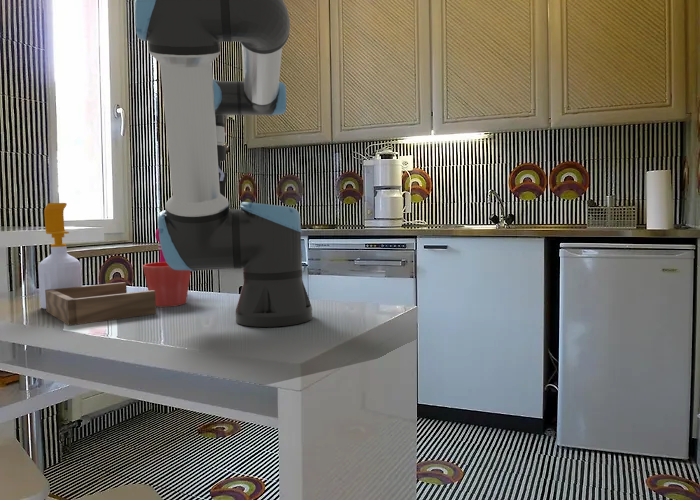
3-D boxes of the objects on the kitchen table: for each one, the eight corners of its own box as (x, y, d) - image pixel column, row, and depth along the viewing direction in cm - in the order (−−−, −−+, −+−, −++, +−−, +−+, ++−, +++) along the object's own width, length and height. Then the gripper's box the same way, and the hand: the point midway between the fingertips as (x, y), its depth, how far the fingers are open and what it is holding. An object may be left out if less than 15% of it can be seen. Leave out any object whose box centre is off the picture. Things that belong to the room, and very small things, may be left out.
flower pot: (193, 306, 137) (191, 264, 136) (143, 309, 134) (141, 266, 133) (192, 299, 147) (190, 260, 146) (146, 302, 144) (144, 262, 143)
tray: (156, 313, 128) (155, 290, 127) (69, 325, 117) (67, 300, 117) (125, 302, 144) (124, 282, 144) (46, 311, 134) (45, 289, 133)
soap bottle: (45, 311, 134) (39, 203, 132) (37, 306, 141) (30, 203, 139) (87, 306, 140) (81, 202, 138) (77, 301, 147) (71, 203, 145)
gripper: (235, 143, 142) (239, 241, 144) (212, 147, 152) (216, 238, 154) (206, 142, 137) (211, 243, 140) (184, 146, 148) (188, 240, 150)
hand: (213, 240), depth 147 cm, fingers closed
